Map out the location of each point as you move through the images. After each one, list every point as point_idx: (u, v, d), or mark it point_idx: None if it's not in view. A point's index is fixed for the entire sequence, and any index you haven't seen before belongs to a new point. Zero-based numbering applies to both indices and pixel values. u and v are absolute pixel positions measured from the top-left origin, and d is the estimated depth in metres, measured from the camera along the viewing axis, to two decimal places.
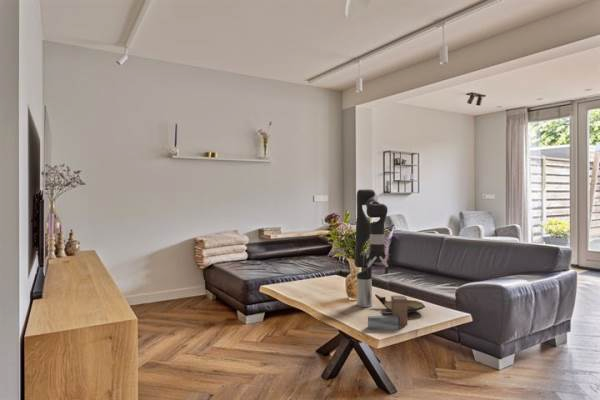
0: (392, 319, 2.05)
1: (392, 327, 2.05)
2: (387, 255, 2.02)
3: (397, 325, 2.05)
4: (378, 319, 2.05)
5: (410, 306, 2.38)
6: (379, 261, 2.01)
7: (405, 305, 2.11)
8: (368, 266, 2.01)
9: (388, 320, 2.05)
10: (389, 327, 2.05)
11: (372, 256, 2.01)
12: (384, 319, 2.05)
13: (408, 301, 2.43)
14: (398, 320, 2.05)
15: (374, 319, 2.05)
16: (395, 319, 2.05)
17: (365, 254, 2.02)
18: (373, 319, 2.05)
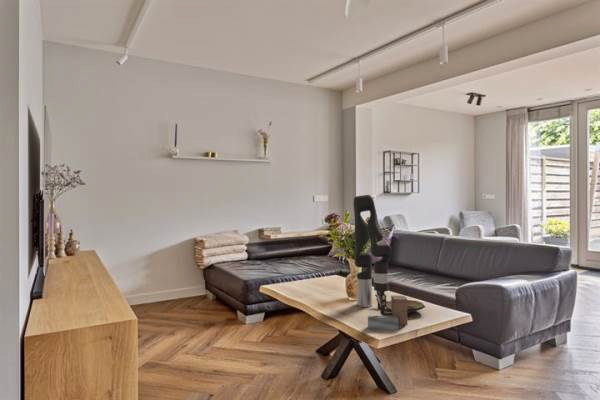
0: (392, 319, 2.05)
1: (392, 327, 2.05)
2: None
3: (397, 325, 2.05)
4: (378, 319, 2.05)
5: (410, 306, 2.38)
6: None
7: (405, 305, 2.11)
8: (385, 306, 2.02)
9: (388, 320, 2.05)
10: (389, 327, 2.05)
11: None
12: (384, 319, 2.05)
13: (408, 301, 2.43)
14: (398, 320, 2.05)
15: (374, 319, 2.05)
16: (395, 319, 2.05)
17: (384, 295, 2.00)
18: (373, 319, 2.05)
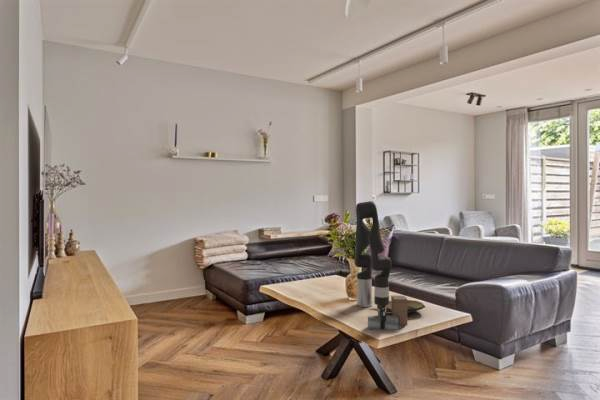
0: (392, 319, 2.05)
1: (392, 327, 2.05)
2: None
3: (397, 325, 2.05)
4: (378, 319, 2.05)
5: (410, 306, 2.38)
6: None
7: (405, 305, 2.11)
8: None
9: (388, 320, 2.05)
10: (389, 327, 2.05)
11: None
12: None
13: (408, 301, 2.43)
14: (398, 320, 2.05)
15: (374, 319, 2.05)
16: (395, 319, 2.05)
17: (385, 312, 2.01)
18: (373, 319, 2.05)
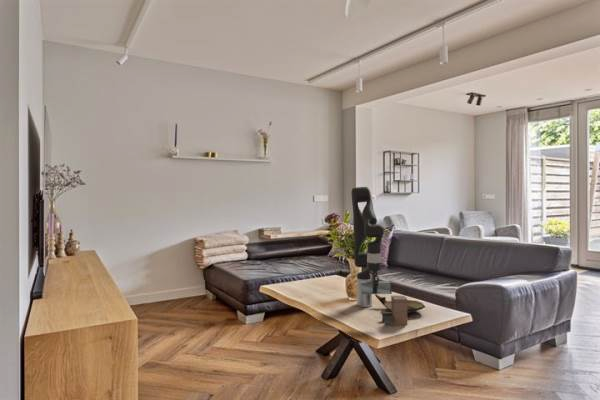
0: (384, 284, 2.13)
1: (384, 292, 2.13)
2: None
3: (389, 290, 2.13)
4: (371, 284, 2.13)
5: (410, 306, 2.38)
6: None
7: (405, 305, 2.11)
8: (377, 285, 2.12)
9: (380, 285, 2.13)
10: (381, 292, 2.13)
11: (377, 275, 2.12)
12: None
13: (408, 301, 2.43)
14: (390, 285, 2.13)
15: (367, 284, 2.13)
16: (387, 284, 2.13)
17: (377, 276, 2.08)
18: (366, 284, 2.13)
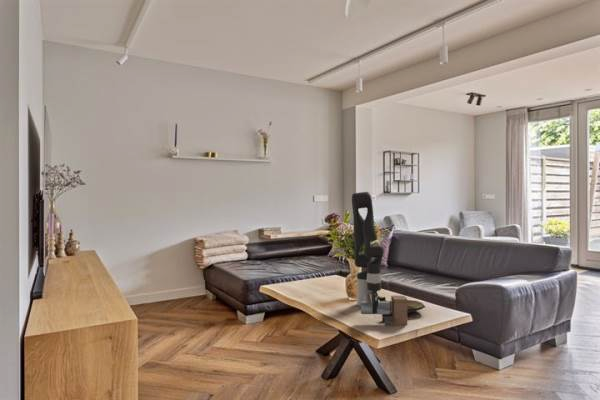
0: (384, 304, 2.13)
1: (384, 312, 2.13)
2: None
3: (389, 310, 2.13)
4: (370, 304, 2.13)
5: (410, 306, 2.38)
6: None
7: (405, 305, 2.11)
8: None
9: (380, 305, 2.13)
10: (381, 312, 2.13)
11: (376, 295, 2.12)
12: None
13: (408, 301, 2.43)
14: (390, 305, 2.13)
15: (366, 304, 2.13)
16: (387, 305, 2.13)
17: (377, 297, 2.09)
18: (365, 304, 2.13)
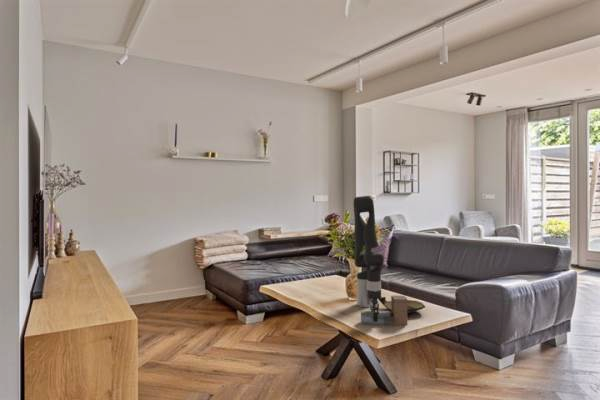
0: (384, 314, 2.13)
1: (384, 322, 2.13)
2: None
3: None
4: (370, 314, 2.13)
5: (410, 306, 2.38)
6: None
7: (405, 305, 2.11)
8: (377, 313, 2.11)
9: (380, 315, 2.13)
10: (381, 322, 2.13)
11: (377, 303, 2.12)
12: None
13: (408, 301, 2.43)
14: (390, 315, 2.13)
15: (367, 314, 2.13)
16: (387, 315, 2.13)
17: (377, 303, 2.09)
18: (366, 314, 2.13)
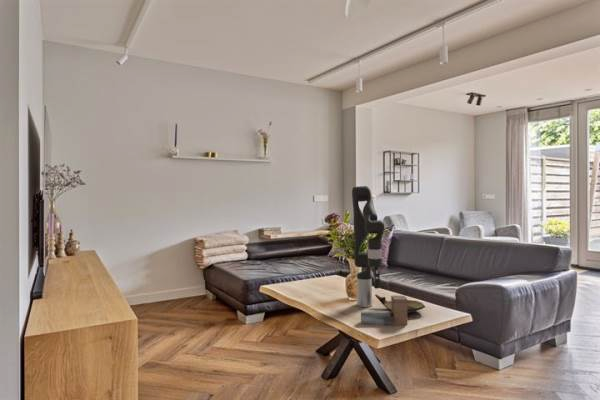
0: (384, 314, 2.13)
1: (384, 322, 2.13)
2: None
3: None
4: (370, 314, 2.13)
5: (410, 306, 2.38)
6: None
7: (405, 305, 2.11)
8: (379, 280, 2.11)
9: (380, 315, 2.13)
10: (381, 322, 2.13)
11: (377, 270, 2.13)
12: (376, 314, 2.13)
13: (408, 301, 2.43)
14: (390, 315, 2.13)
15: (367, 314, 2.13)
16: (387, 315, 2.13)
17: (378, 270, 2.10)
18: (366, 314, 2.13)
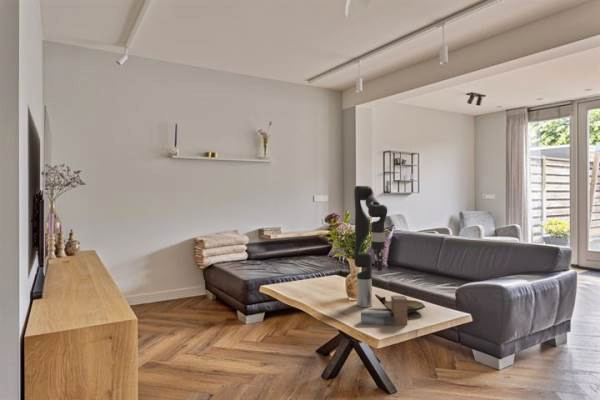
0: (384, 314, 2.13)
1: (384, 322, 2.13)
2: None
3: None
4: (370, 314, 2.13)
5: (410, 306, 2.38)
6: None
7: (405, 305, 2.11)
8: None
9: (380, 315, 2.13)
10: (381, 322, 2.13)
11: None
12: (376, 314, 2.13)
13: (408, 301, 2.43)
14: (390, 315, 2.13)
15: (367, 314, 2.13)
16: (387, 315, 2.13)
17: (381, 252, 2.15)
18: (366, 314, 2.13)
